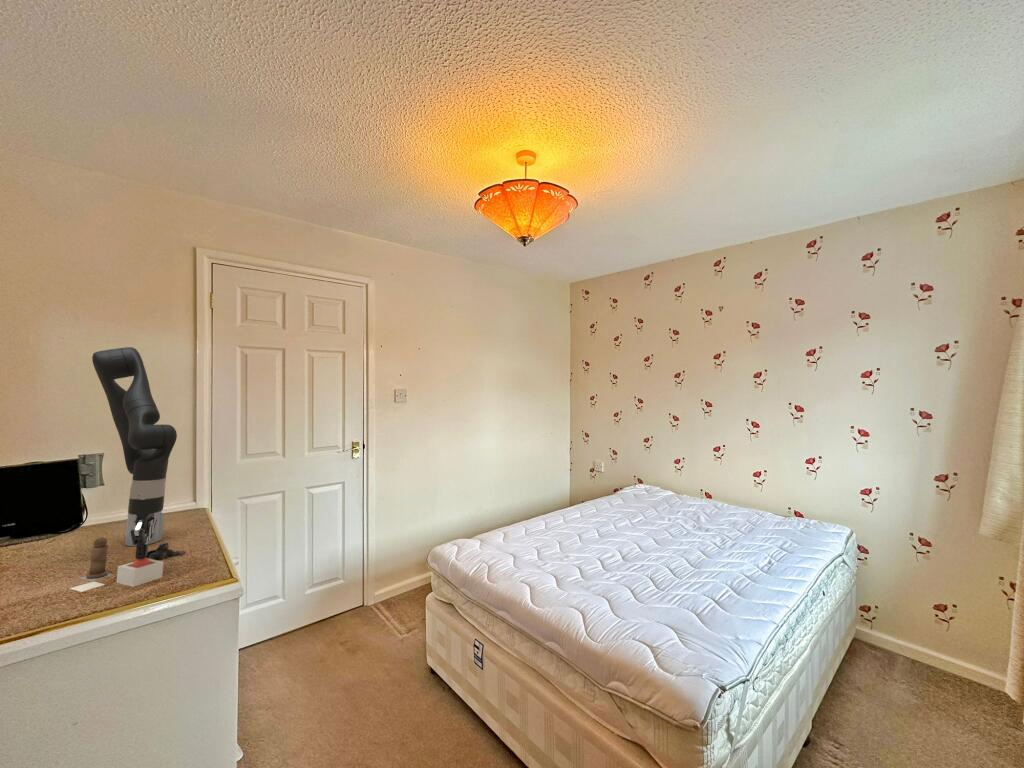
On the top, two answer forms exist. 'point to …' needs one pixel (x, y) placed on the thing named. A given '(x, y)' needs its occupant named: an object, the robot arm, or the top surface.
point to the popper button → (141, 562)
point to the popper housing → (139, 573)
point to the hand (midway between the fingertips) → (141, 557)
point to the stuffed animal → (163, 552)
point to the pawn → (98, 559)
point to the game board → (88, 584)
